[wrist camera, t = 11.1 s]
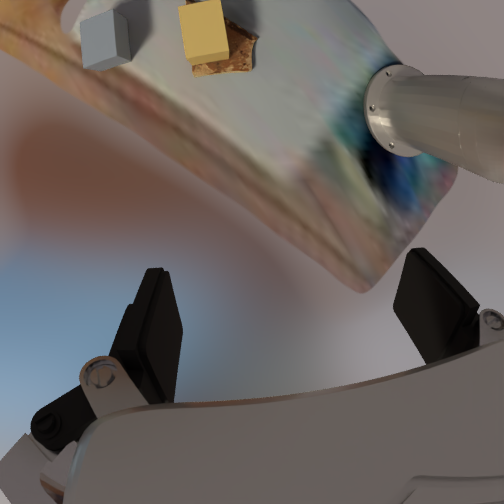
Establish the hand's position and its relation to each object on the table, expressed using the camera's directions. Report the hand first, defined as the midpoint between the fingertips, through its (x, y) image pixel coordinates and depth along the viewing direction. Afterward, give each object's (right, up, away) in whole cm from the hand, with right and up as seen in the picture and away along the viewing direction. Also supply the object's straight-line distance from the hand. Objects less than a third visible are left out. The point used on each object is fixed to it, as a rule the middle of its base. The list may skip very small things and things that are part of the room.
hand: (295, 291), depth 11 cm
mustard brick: (-6, +24, +14) cm, 29 cm away
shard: (-7, +25, +16) cm, 30 cm away
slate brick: (-18, +26, +13) cm, 34 cm away
